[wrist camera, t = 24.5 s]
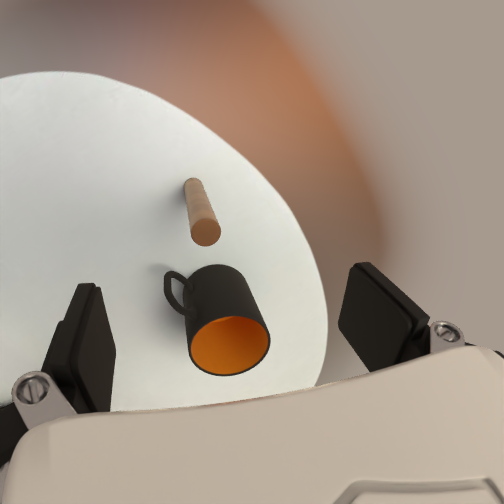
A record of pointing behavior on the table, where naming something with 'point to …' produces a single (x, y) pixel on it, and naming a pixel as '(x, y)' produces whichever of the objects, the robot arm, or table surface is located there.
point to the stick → (200, 214)
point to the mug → (220, 320)
